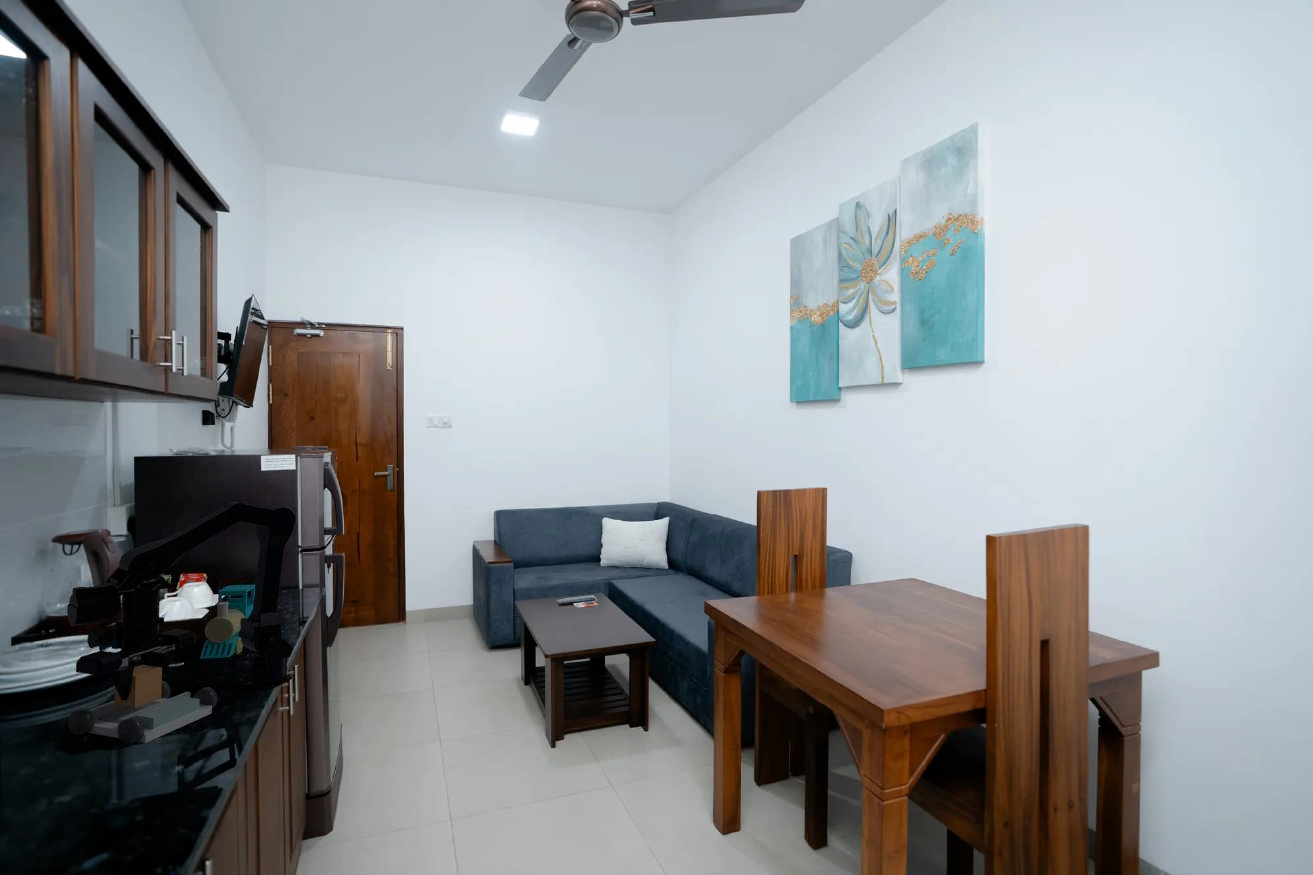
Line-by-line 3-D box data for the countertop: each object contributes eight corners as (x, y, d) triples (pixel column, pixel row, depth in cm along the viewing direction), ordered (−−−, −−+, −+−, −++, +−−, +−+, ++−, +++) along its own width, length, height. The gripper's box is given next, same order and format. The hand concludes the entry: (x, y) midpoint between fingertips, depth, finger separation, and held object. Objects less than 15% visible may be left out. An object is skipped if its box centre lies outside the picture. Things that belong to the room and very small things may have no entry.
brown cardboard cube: (141, 694, 127) (142, 664, 127) (161, 697, 126) (162, 667, 126) (114, 704, 122) (115, 673, 122) (134, 707, 121) (135, 676, 121)
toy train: (196, 662, 155) (197, 601, 155) (223, 641, 171) (224, 585, 171) (233, 660, 157) (234, 599, 157) (256, 639, 173) (258, 584, 173)
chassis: (152, 700, 133) (153, 678, 133) (218, 710, 129) (218, 688, 129) (66, 733, 118) (66, 709, 118) (137, 746, 113) (138, 721, 113)
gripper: (156, 599, 135) (154, 673, 135) (54, 623, 117) (52, 709, 117) (198, 603, 132) (196, 679, 132) (100, 629, 114) (98, 716, 114)
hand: (138, 694), depth 124 cm, fingers closed on brown cardboard cube, 5 cm apart
